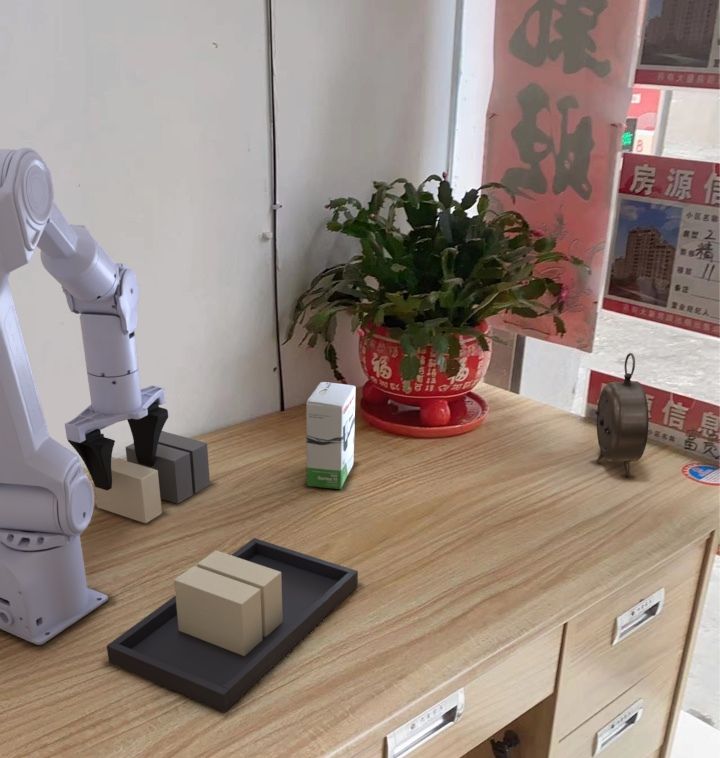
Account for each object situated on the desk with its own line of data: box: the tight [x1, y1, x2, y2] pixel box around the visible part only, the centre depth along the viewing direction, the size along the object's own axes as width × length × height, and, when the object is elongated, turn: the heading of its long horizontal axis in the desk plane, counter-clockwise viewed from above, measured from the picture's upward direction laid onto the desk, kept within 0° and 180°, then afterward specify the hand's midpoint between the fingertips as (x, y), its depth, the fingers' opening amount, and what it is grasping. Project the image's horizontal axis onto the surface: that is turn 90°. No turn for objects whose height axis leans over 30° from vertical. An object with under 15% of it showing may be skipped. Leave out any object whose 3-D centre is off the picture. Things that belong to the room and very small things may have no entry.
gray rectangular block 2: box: [158, 430, 211, 494], centre depth 116 cm, size 3×8×6 cm, turn 61°
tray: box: [106, 537, 359, 713], centre depth 89 cm, size 24×14×2 cm, turn 151°
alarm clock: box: [594, 352, 649, 478], centre depth 121 cm, size 11×5×16 cm, turn 179°
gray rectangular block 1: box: [125, 442, 194, 505], centre depth 113 cm, size 3×8×6 cm, turn 61°
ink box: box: [305, 381, 356, 490], centre depth 117 cm, size 9×5×12 cm, turn 168°
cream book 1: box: [173, 565, 262, 656], centre depth 85 cm, size 3×8×6 cm, turn 61°
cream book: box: [93, 456, 163, 524], centre depth 108 cm, size 3×8×6 cm, turn 61°
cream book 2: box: [197, 550, 283, 637], centre depth 88 cm, size 3×8×6 cm, turn 60°
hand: (125, 475), depth 107 cm, fingers open, 7 cm apart
